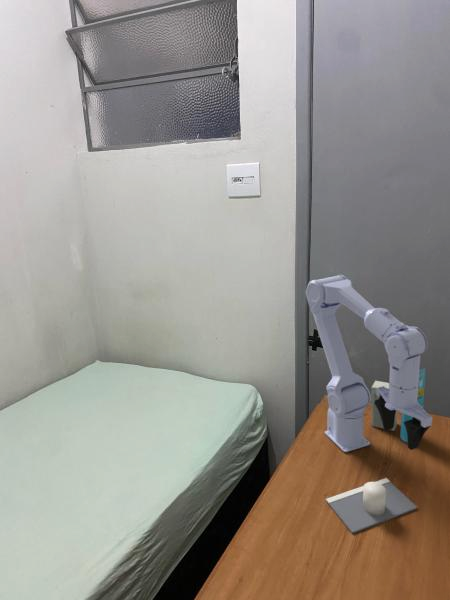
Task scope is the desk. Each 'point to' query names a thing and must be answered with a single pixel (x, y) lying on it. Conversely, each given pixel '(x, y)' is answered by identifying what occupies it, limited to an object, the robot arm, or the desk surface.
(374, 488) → the white tapered cylinder
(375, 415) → the skincare box
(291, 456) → the desk surface
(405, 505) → the gray book
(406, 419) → the tube
